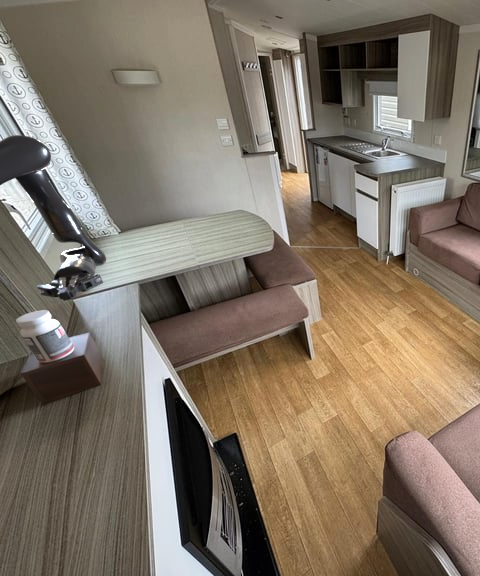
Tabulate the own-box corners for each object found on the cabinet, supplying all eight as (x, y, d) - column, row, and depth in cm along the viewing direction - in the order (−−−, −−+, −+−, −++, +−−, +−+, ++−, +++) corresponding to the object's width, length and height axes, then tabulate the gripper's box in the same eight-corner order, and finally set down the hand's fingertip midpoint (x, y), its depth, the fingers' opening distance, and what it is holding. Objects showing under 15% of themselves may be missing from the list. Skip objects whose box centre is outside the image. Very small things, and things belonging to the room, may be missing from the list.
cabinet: (52, 376, 72) (33, 347, 68) (104, 360, 77) (89, 332, 73) (42, 404, 64) (20, 373, 60) (101, 384, 69) (84, 354, 65)
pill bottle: (79, 344, 69) (57, 306, 64) (69, 358, 64) (45, 318, 60) (45, 351, 66) (20, 312, 62) (32, 367, 62) (5, 326, 57)
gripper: (37, 267, 82) (18, 290, 69) (100, 257, 89) (94, 276, 76) (50, 292, 85) (35, 318, 72) (111, 280, 92) (106, 302, 79)
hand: (65, 296), depth 74 cm, fingers closed
